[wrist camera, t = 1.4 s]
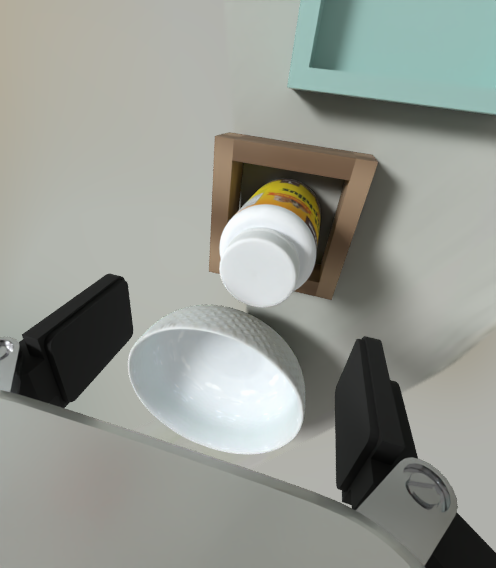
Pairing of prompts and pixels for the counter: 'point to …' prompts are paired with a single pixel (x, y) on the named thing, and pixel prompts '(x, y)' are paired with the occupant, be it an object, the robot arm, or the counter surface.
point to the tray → (399, 51)
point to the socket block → (301, 159)
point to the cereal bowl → (220, 379)
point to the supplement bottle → (271, 243)
